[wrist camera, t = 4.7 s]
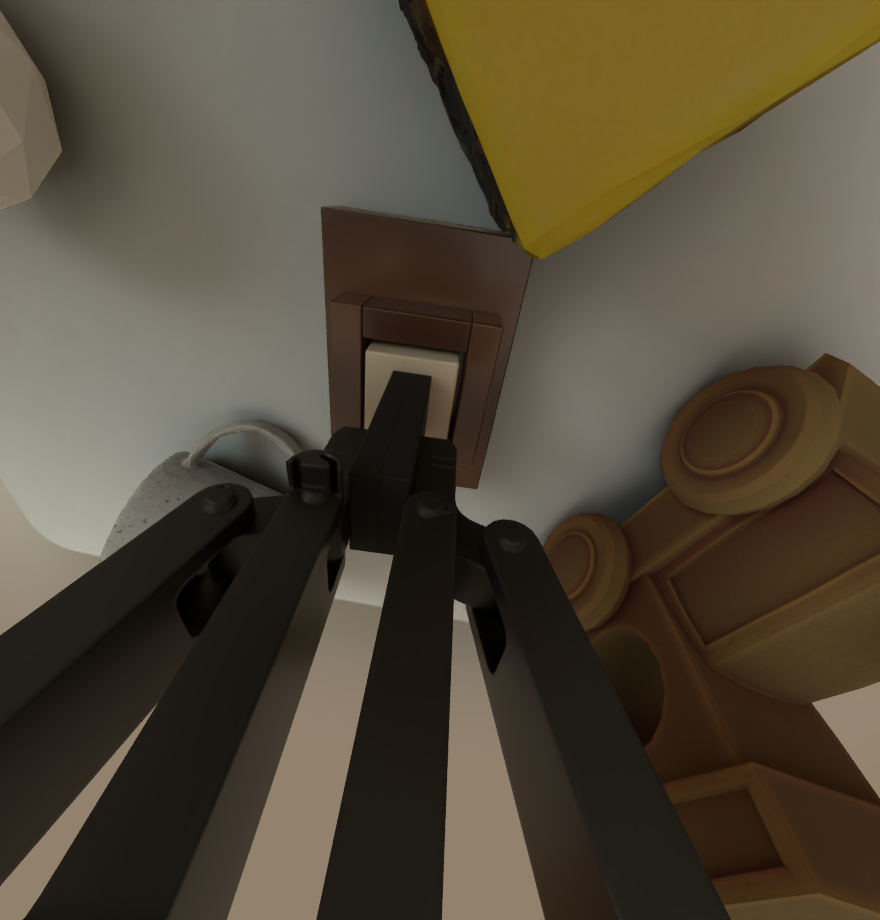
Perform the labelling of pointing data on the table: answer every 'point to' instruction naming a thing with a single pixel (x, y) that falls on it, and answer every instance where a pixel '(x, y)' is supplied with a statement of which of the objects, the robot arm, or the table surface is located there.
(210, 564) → the robot arm
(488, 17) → the candle
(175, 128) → the table surface
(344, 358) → the brown stepped block
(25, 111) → the geometric ball
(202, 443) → the ceramic mug
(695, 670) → the wooden toy train
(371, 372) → the beige square block
